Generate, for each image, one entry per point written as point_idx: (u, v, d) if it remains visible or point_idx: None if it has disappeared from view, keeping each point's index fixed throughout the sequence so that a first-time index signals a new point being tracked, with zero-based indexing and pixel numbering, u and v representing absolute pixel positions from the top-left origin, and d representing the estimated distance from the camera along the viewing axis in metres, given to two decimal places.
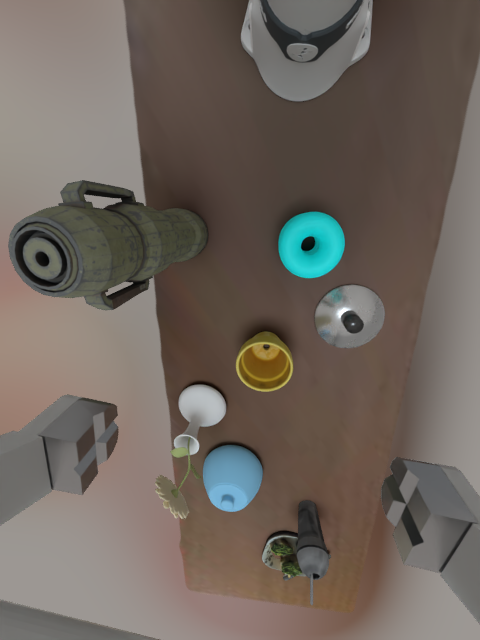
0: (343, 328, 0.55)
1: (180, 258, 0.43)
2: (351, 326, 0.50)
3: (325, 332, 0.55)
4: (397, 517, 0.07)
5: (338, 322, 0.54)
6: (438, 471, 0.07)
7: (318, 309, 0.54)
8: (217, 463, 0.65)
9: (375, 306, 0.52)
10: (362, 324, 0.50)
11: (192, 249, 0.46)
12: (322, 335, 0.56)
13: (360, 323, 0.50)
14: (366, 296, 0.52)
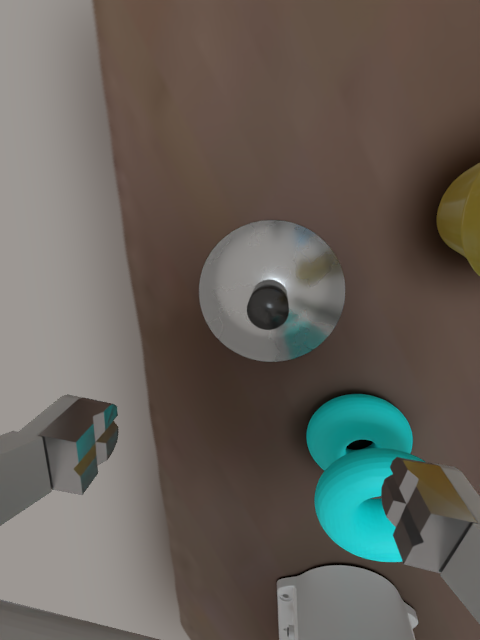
0: (279, 272, 0.24)
1: None
2: (274, 307, 0.21)
3: (320, 261, 0.23)
4: (397, 517, 0.07)
5: (290, 286, 0.24)
6: (438, 471, 0.07)
7: (336, 316, 0.25)
8: None
9: (220, 321, 0.26)
10: (250, 312, 0.21)
11: None
12: (327, 252, 0.23)
13: (254, 315, 0.21)
14: (240, 340, 0.27)
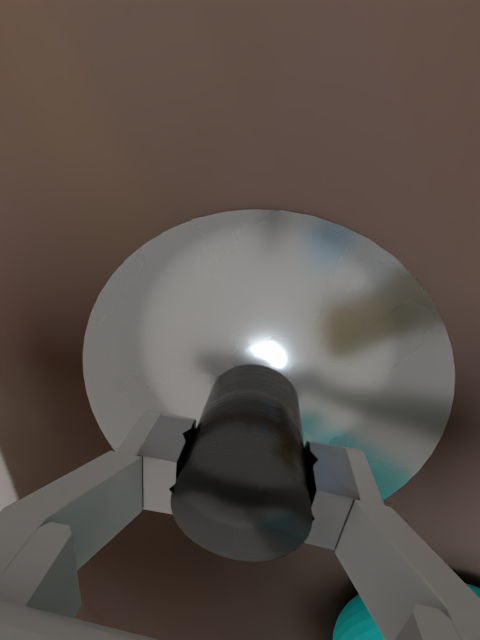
0: (278, 348, 0.09)
1: None
2: (261, 511, 0.06)
3: (392, 323, 0.08)
4: None
5: (306, 383, 0.09)
6: (341, 453, 0.07)
7: (422, 453, 0.10)
8: None
9: None
10: (182, 515, 0.06)
11: None
12: (415, 302, 0.08)
13: (198, 522, 0.06)
14: None
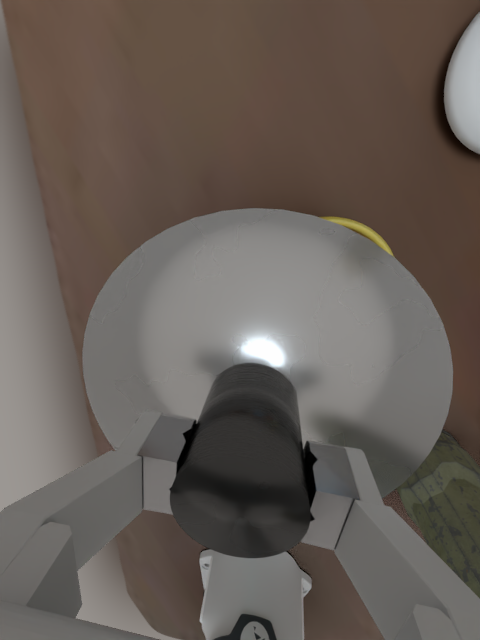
0: (277, 347, 0.09)
1: (462, 524, 0.24)
2: (260, 507, 0.06)
3: (390, 321, 0.08)
4: None
5: (305, 381, 0.09)
6: (341, 453, 0.07)
7: (421, 451, 0.10)
8: None
9: None
10: (181, 512, 0.06)
11: (426, 496, 0.27)
12: (413, 300, 0.08)
13: (197, 519, 0.07)
14: None
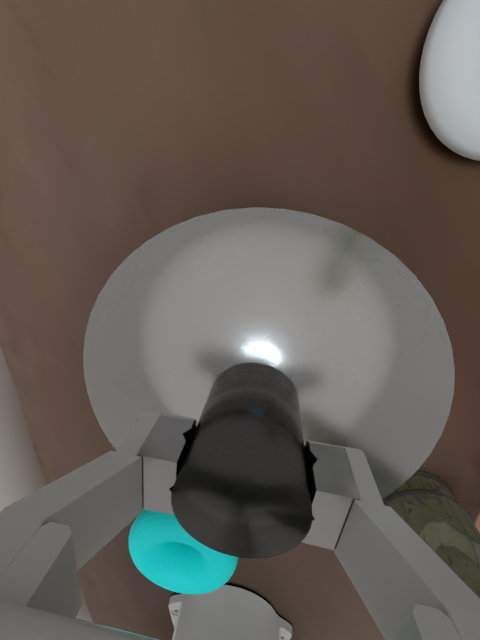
0: (278, 347, 0.09)
1: None
2: (262, 507, 0.06)
3: (392, 321, 0.08)
4: None
5: (306, 381, 0.09)
6: (341, 453, 0.07)
7: (422, 451, 0.10)
8: None
9: None
10: (182, 512, 0.06)
11: None
12: (415, 300, 0.08)
13: (198, 519, 0.06)
14: None
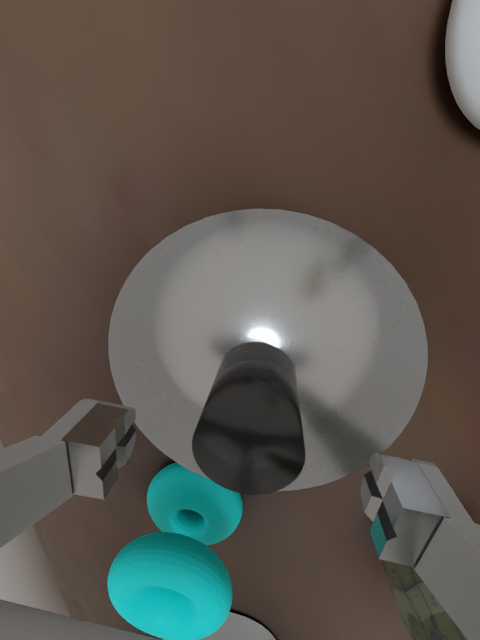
0: (277, 327, 0.11)
1: None
2: (265, 448, 0.08)
3: (373, 303, 0.10)
4: (374, 512, 0.07)
5: (302, 357, 0.11)
6: (414, 467, 0.07)
7: (403, 418, 0.11)
8: None
9: (160, 419, 0.13)
10: (201, 456, 0.08)
11: (426, 611, 0.20)
12: (392, 285, 0.10)
13: (213, 461, 0.08)
14: None
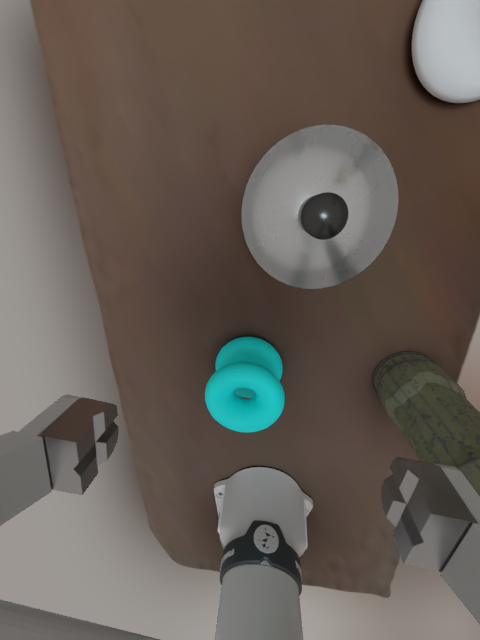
0: (328, 186, 0.23)
1: (431, 410, 0.29)
2: (332, 213, 0.20)
3: (373, 169, 0.22)
4: (397, 517, 0.07)
5: None
6: (438, 471, 0.07)
7: (387, 232, 0.24)
8: None
9: (264, 246, 0.25)
10: (306, 221, 0.20)
11: (405, 398, 0.33)
12: (381, 159, 0.22)
13: (311, 223, 0.20)
14: (285, 267, 0.26)
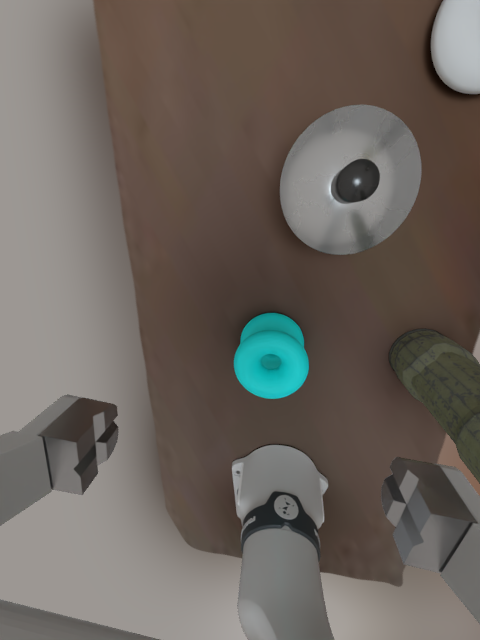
0: (359, 159, 0.26)
1: (448, 373, 0.32)
2: (366, 177, 0.23)
3: (399, 144, 0.25)
4: (397, 517, 0.07)
5: None
6: (438, 471, 0.07)
7: (411, 202, 0.26)
8: None
9: (299, 215, 0.28)
10: (342, 184, 0.23)
11: (422, 366, 0.35)
12: (407, 135, 0.25)
13: (346, 187, 0.23)
14: (317, 234, 0.28)
